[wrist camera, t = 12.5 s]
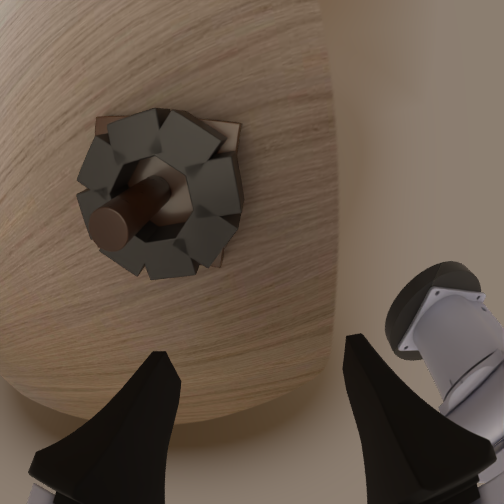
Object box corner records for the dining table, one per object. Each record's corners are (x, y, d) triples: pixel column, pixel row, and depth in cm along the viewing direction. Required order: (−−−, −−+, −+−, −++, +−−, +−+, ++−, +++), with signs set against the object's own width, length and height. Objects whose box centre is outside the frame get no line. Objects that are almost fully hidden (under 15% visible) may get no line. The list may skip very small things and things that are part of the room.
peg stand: (241, 123, 15) (229, 124, 8) (222, 259, 19) (205, 333, 12) (105, 116, 14) (29, 125, 8) (104, 240, 18) (50, 296, 12)
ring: (123, 266, 18) (108, 284, 16) (85, 138, 14) (62, 143, 12) (252, 249, 17) (252, 268, 15) (226, 95, 13) (220, 91, 11)
